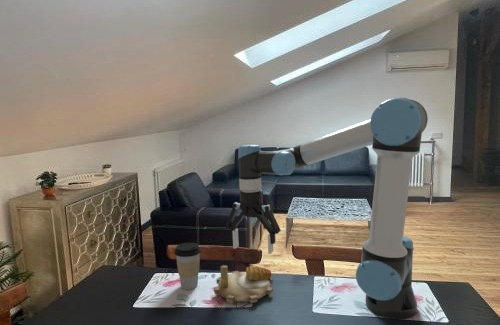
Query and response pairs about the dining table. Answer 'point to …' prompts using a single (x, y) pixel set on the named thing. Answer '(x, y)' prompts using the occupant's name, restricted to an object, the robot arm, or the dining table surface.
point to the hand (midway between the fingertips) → (253, 250)
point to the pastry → (257, 273)
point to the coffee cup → (188, 264)
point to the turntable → (241, 287)
